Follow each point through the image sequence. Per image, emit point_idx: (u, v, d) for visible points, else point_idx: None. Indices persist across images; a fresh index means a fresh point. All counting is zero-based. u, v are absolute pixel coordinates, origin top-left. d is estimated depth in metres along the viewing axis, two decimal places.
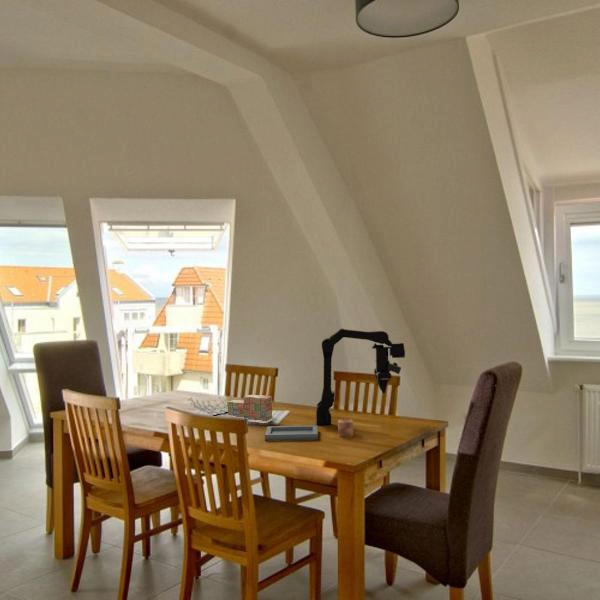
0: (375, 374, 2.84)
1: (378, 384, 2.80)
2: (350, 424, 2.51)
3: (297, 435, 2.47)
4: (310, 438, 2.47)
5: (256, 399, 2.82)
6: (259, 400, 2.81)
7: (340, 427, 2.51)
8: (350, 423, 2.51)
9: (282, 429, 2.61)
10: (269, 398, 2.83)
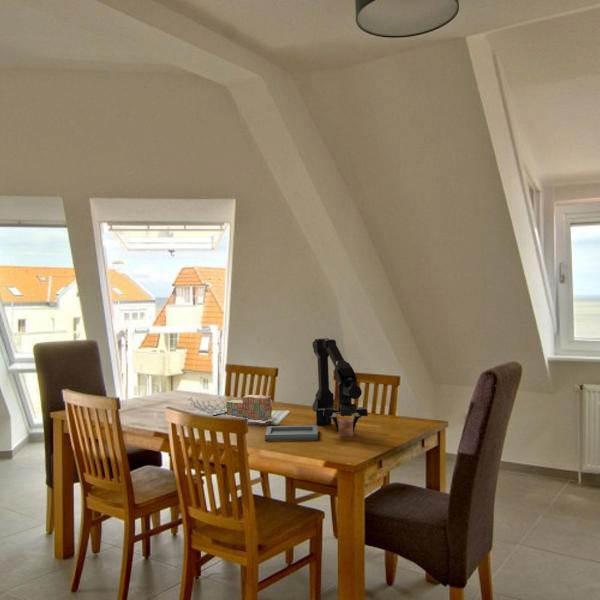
0: None
1: None
2: (350, 424, 2.51)
3: (297, 435, 2.47)
4: (310, 438, 2.47)
5: (255, 399, 2.82)
6: (258, 400, 2.81)
7: (340, 427, 2.51)
8: (350, 423, 2.51)
9: (282, 429, 2.61)
10: (268, 398, 2.83)
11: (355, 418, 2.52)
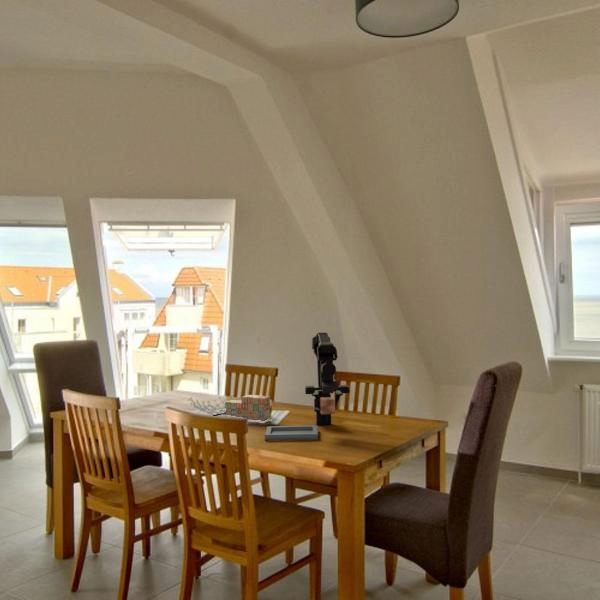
0: None
1: None
2: (332, 401, 2.51)
3: (297, 435, 2.47)
4: (310, 438, 2.47)
5: (254, 399, 2.82)
6: (257, 400, 2.81)
7: (322, 404, 2.51)
8: (332, 400, 2.51)
9: (282, 429, 2.61)
10: (267, 398, 2.83)
11: (337, 395, 2.52)
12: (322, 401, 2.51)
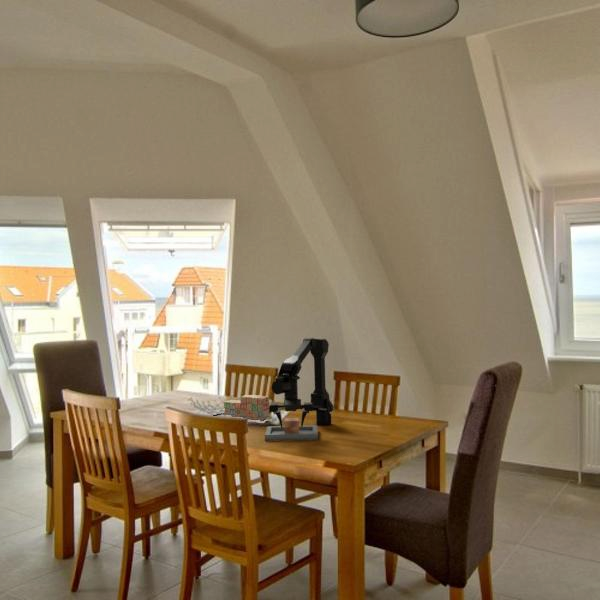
0: None
1: None
2: (296, 422, 2.52)
3: (297, 435, 2.47)
4: (310, 438, 2.47)
5: (253, 399, 2.82)
6: (256, 400, 2.81)
7: (286, 425, 2.52)
8: (296, 421, 2.52)
9: (282, 429, 2.61)
10: (266, 398, 2.83)
11: (303, 413, 2.52)
12: (286, 422, 2.52)
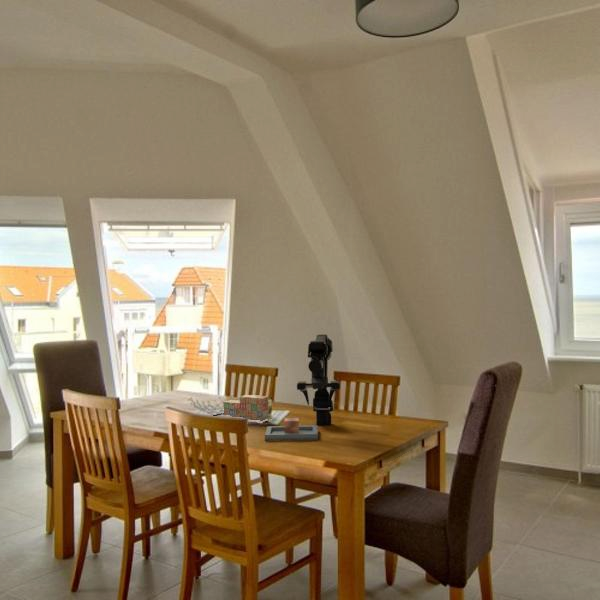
0: None
1: None
2: (296, 422, 2.52)
3: (297, 435, 2.47)
4: (310, 438, 2.47)
5: (252, 399, 2.82)
6: (255, 400, 2.81)
7: (286, 425, 2.52)
8: (296, 421, 2.52)
9: (282, 429, 2.61)
10: (265, 398, 2.83)
11: (331, 391, 2.59)
12: (286, 422, 2.52)
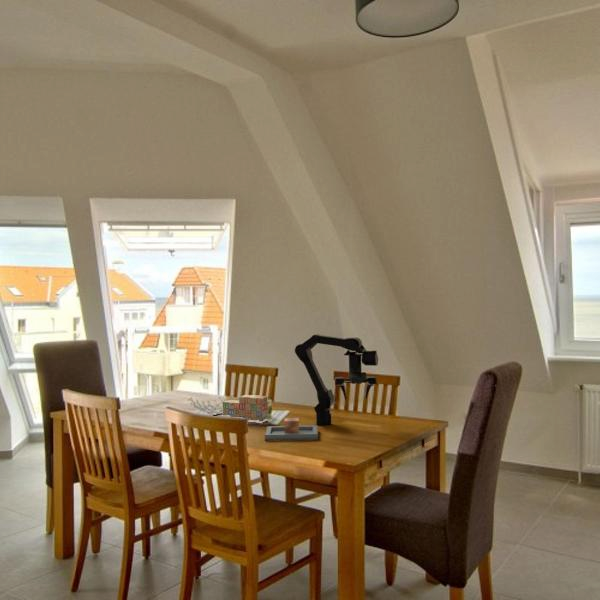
0: None
1: (365, 392, 2.73)
2: (296, 422, 2.52)
3: (297, 435, 2.47)
4: (310, 438, 2.47)
5: (252, 399, 2.82)
6: (255, 400, 2.81)
7: (286, 425, 2.52)
8: (296, 421, 2.52)
9: (282, 429, 2.61)
10: (265, 398, 2.83)
11: (368, 386, 2.69)
12: (286, 422, 2.52)
